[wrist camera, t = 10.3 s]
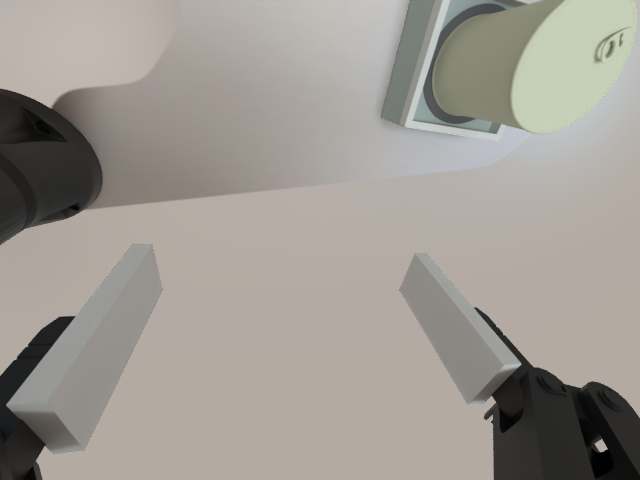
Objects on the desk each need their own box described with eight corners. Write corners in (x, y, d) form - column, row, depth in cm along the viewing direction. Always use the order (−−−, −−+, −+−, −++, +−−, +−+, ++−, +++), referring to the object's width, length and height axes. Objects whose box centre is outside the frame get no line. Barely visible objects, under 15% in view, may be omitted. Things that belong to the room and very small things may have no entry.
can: (516, 85, 30) (637, 91, 20) (443, 131, 32) (522, 158, 22) (505, -9, 25) (660, -62, 15) (420, 51, 27) (508, 39, 17)
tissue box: (380, 117, 36) (404, 126, 29) (413, -10, 29) (452, -32, 23) (461, 129, 38) (498, 141, 32) (508, 17, 32) (566, 4, 25)
